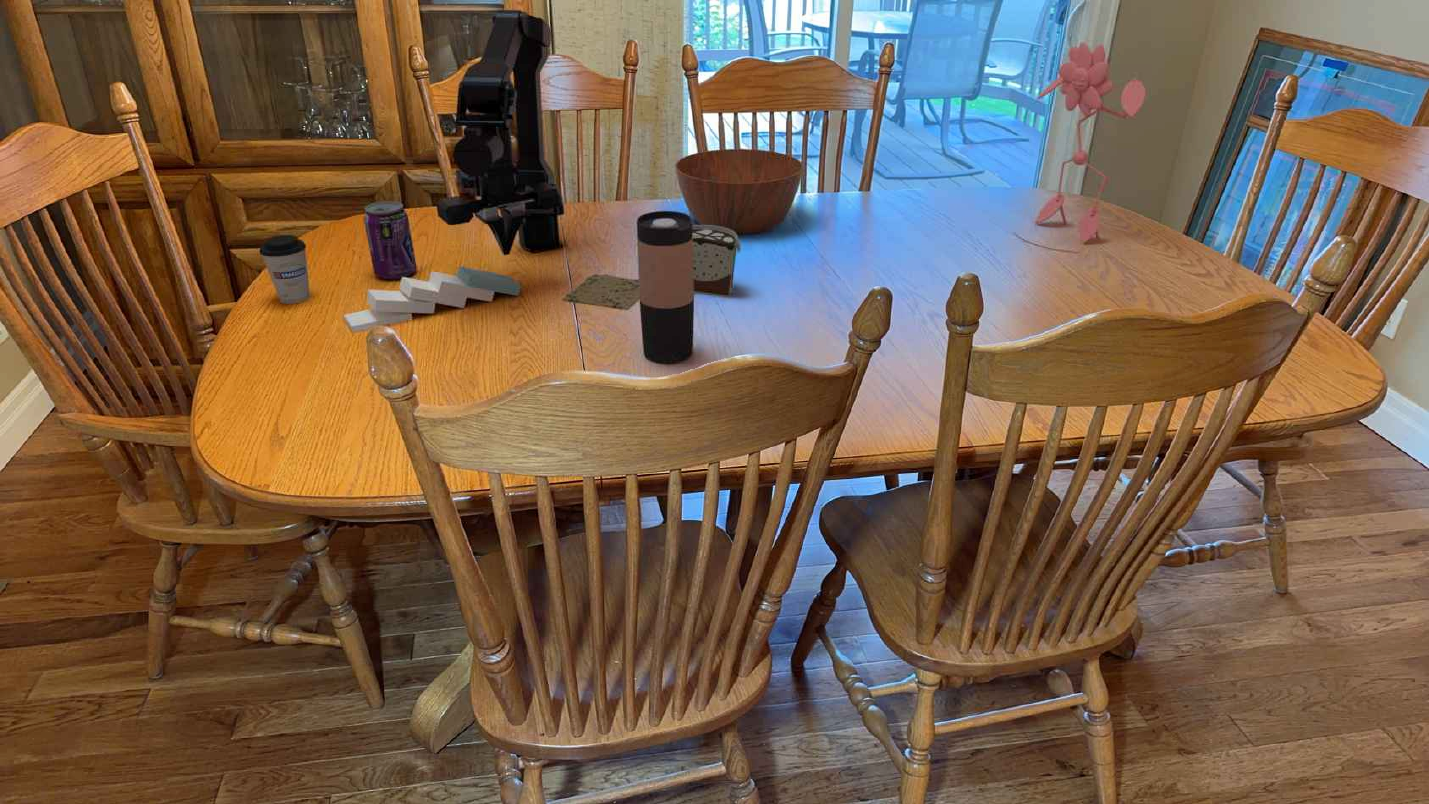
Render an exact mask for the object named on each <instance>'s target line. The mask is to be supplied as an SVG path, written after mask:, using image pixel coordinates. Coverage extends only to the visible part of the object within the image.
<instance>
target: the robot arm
mask: <svg viewBox="0 0 1429 804" xmlns="http://www.w3.org/2000/svg"><path fill="white" fill-rule="evenodd" d="M551 44H552V32H551V28H550V25H549V24H548V23H547V22H546V21H545V20H544V19H543V18H542V17H537V16H533V15H530V14H528V13H527V12H526V11H523V10H520V9H498V10H497V11H493V14H492V26H491V30H490V33H489V35H488V38H487V41H486V44H485V47H484V49H483V52H482V55H481V58H480V60H479V61H477V62H476V63H474V64H472V65H470V66H469V67H468V68H467V69H466V71H465V73H464V74H463V77H462V79H461V80H460V82H459V83H458V88H457V101H456V102H457V103H456V113H455V115H456V116H455V126H456V127H464V128H463V137H461V138H460V139H459V140H458V141H457V143H456V144H455V146H454V148H453V153H452V155H453V161H454V163H455V165H456V167H457V168H458V169H456V170H455V179H456V183H457V187H458V190H459V191H464V190H470V195H471V196H472V195H474V196H476V197H477V198H479V197H480V199H475V200H467V199H466V198H464V197H463V196H462V195H456V196H450V197H444V198H439V199H438V201H437V204H436V210H437V215H438V218H440V219H441V220H442V221H443V222H444V223H446V224H447V226H455V225H458V226H459V225H462V224H467V223H470V222H471V221H472V220H473V219H474V216H475V218H477V220H479V221H481V222H482V223H483V224H485V225H487V226H488V227H489V229H490V231H491V233H492V234H493V236H494V238H495V240H496V243H497V244H498V247H499V249H500V251H501V253H502V254H503V256H509V255H510V254H511V250H512V248H513V245H514V242H515V239H516V236H517V234H518V244H520V245H521V246H522V247H523V248H525V249H526V250H527V251H528V252H529V253H538V252H543V251H547V250H548V251H549V250H552V249H558V248H562V247H564V243H563V242H561V241H560V232H559V231H560V230H559V221H558V218H559V216H562V215H564V214H565V207H564V206H565V205H564V202H563V201H564V199H563V195H562V194H561V192H560V189H559V186H558V184H556V183H555V181H556V180H555V173H554V171H553V170H552V169H551V167H550V166H549V163H547V161H546V159H545V150H544V149H545V147H544V144H545V143H544V128H543V127H544V126H543V109H542V108H543V107H542V105H543V103H542V89H541V88H542V87H541V86H542V85H541V72H542V70H543V68H544V66H545V64H546V62H547V61H548V58H549V47H550V46H551ZM511 75H512V76H513V82H512V79H511ZM467 111H468V113H467ZM514 119H515V123H516V125H515V126H516V141H517V162H515V159H514V153H513V142H512V134H511V133H512V131H511V123H512V120H514ZM515 163H516V164H515ZM499 212H500V215H499Z"/></svg>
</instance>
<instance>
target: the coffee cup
mask: <svg viewBox="0 0 1429 804" xmlns="http://www.w3.org/2000/svg"><path fill="white" fill-rule="evenodd" d="M263 242H264V243H263V244H262V245H261V246H260V247H259V251H258V252H259V254H260V255H261V256H262V259H263V262H264V264H265V266H266V269H267V272H268V274H269V276H270V279H271V282H272V284H273V286H274V289H275V291H276V294H277V296H278V299H279V301H280V303H282V304H287V305H288V304H289V305H292V304H298V303H303V302H306V301H307V300H309V299H310V297H311V295H310V294H311V293H310V283H309V273H308V263H307V253H306V248H307V245H306V243H305V242H304V241H303V240H301V239H299V238H297V236H295V235H293V234H281V235H275V236H271V237H269V238H266V239H265V240H264V241H263Z"/></svg>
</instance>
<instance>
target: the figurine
mask: <svg viewBox="0 0 1429 804" xmlns="http://www.w3.org/2000/svg"><path fill="white" fill-rule="evenodd" d="M1068 57H1069V60H1070V61H1066V62H1064V63H1063V64H1061V65H1060V66H1059V68H1058V71H1057V72H1058V75H1059V76H1058V77H1057V78H1056V79H1054V80H1053V81H1052V82H1051V83H1050V84H1049V85H1048V86H1047V87H1046V88H1045V89H1043V91H1042V92H1041V93H1040V94H1039V95H1038V96H1037V97H1036V99H1037V100H1040V99H1042V98H1044V97H1045V96H1046V95H1048V94H1050V93H1051V92H1053V91H1054V90H1055V89H1056V88H1057V87H1059V86H1060V87H1059V88H1060V89H1059V90H1060V91H1059V92H1060V93H1061V95H1064V96H1065V101H1064V102H1065V108H1066V110H1067V111H1068V112H1072V111H1074V110H1075V108H1076V107H1077V106H1078V108H1079V110H1080V113H1082V114H1083V116H1084V117H1083V118H1081V119H1079V120H1078V122H1077V123H1076V128H1077V129H1076V130H1077V141H1078V151H1076V152H1075V153H1074V154H1073V156H1072V158H1070V159H1068V160H1066V161H1064V162H1062V164H1061V171H1060V178H1059V183H1058V191H1057V195H1056V196H1054V197H1052V198H1051V199H1049V200H1048V201H1047V202H1046V203H1045V204H1044V205H1043V207H1042V208H1041V210H1040V211H1039V213H1038V215H1037V217H1036V220H1035V225H1037V224H1041V223H1042V222H1043V223H1044V222H1045V221H1048V220H1049V219H1050V218H1052V217H1053V216H1054V215H1056V214H1057V212H1058V211H1059V210H1060V214H1061V215H1060V216H1061V219H1062V221H1063V222H1062V223H1063V225H1066V224H1067V219H1066V215H1065V210H1064V207H1063V204H1064V202H1065V195H1063V194H1061V188H1062V181H1063V175H1064V167H1065V164H1068V163H1070V162H1072V161H1073V163H1074V165H1077V166H1083V165H1086V166H1087V167H1088V168H1089V169H1091V170H1093V171H1094V172H1095V173H1097V175H1098V174H1099V175H1100V176H1101V177H1103V178H1104V180H1103V181H1102V185H1101V187H1100V189H1099V192H1098V195H1097V198H1096V200H1095V202H1094V205H1093V207H1092V208H1088V209H1087V210H1085V211H1084V213H1083V214H1082V215H1081V216H1080V218H1079V221H1078V222H1077V223H1078V225H1077V226H1078V227H1077V228H1078V234H1079V237H1080V239H1081V241H1082V243H1083V244H1085V243H1086V242H1087V241H1089V240H1090V239H1092V237H1093V236H1095V238H1096V239H1100V233H1099V228H1100V225H1101V216H1100V211H1098V210H1097V209H1096V208H1097V205H1098V203H1099V200H1100V198H1101V195H1102V192H1103V190H1104V188H1105V185H1106V183H1107V180H1108V178H1107V176H1106V175H1104V174H1103V173H1101V171H1099V170H1098V169H1096V168H1095V167H1093V166H1092V165H1090V164H1089V163H1088V161H1089V154H1088V153H1087V151H1085V150H1082V144H1081V143H1082V141H1081V123H1082V122H1085V121H1086V120H1088V119H1089V118H1090V117H1092V116H1094V115H1095V114H1097V113H1099V112H1100V111H1101V112H1106V113H1108V114H1112V115H1114V116H1117V117H1120V119H1125V120H1126V119H1127V116H1129V117H1130V118H1131V119H1133V118H1134V117H1135V116H1136V115H1137V114H1138V112H1139V111H1140V110H1141V108H1142V107H1143V105H1144V102H1145V100H1146V88H1145V86H1144V84H1143V82H1142V81H1140V80H1138V77H1133V78H1132V79H1131V81H1128V83H1127V84H1125V86H1124V88H1123V90H1122V93H1121V96H1120V102H1121V106H1122V109H1123V111H1124V113H1123V114H1122V113H1119V112H1117V111H1114V110H1112V109H1109V108H1107V107H1106V106H1105V105H1104V104H1103V102H1102V101H1103V100H1102V98H1101V97H1103V96H1106V95H1108V94H1109V93H1110V92H1112V91H1113V88H1114V83H1113V81H1112V80H1111V79H1110V78H1108V77H1107V76H1108V73H1109V69H1110V64H1109V62H1108V61H1106V51H1105V46H1104V45H1103V44H1098V45H1097V46H1096V47H1095V48H1094V50H1093V51H1091V48H1090V47H1089V45H1087V43H1086V42H1081V43H1079V46H1078V47H1077V46H1072V47H1070V48H1069V51H1068ZM1093 110H1094V111H1093ZM1012 232H1013V233H1014V235H1016V237H1017V238H1019V239H1021V240H1022V241H1023V243H1027V244H1031V245H1034V246H1038V247H1042V248H1045V249H1047V250H1050V251H1060V252H1066V253H1073V251H1072V250H1071V251H1070V250H1063V249H1056V248H1052V247H1051V248H1050V247H1046V246H1044V245H1039V244H1036V243H1033V242H1030V241H1029V240H1025V239H1024V238H1022V237H1020V236H1019V235H1018V234H1016V233H1015V232H1014V230H1012ZM1074 253H1076V254H1077V253H1078V254H1079V251H1074Z"/></svg>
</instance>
